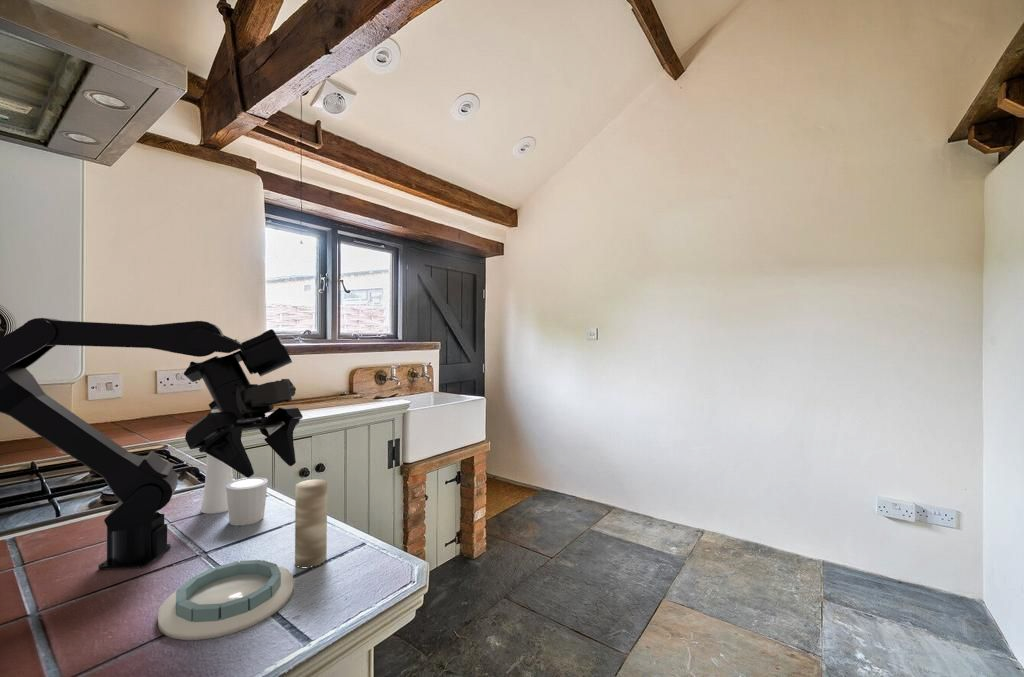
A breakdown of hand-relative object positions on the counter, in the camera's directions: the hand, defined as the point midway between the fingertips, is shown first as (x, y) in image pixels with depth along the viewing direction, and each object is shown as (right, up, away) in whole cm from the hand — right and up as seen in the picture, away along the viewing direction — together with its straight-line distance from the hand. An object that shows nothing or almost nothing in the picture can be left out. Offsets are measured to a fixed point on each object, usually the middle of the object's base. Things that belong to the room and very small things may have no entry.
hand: (273, 470), depth 71 cm
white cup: (-12, -13, +13) cm, 23 cm away
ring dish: (+1, -14, -12) cm, 18 cm away
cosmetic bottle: (-21, -13, +18) cm, 31 cm away
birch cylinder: (+7, -14, -2) cm, 15 cm away
